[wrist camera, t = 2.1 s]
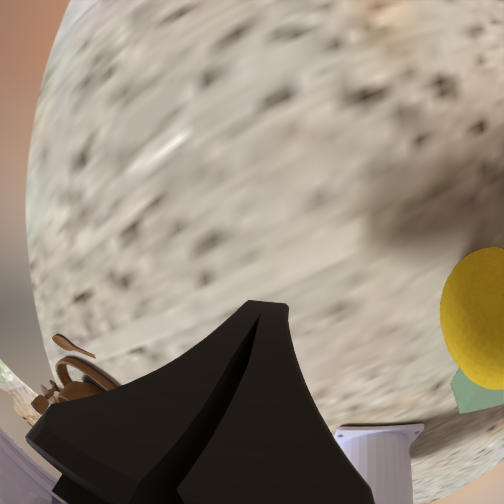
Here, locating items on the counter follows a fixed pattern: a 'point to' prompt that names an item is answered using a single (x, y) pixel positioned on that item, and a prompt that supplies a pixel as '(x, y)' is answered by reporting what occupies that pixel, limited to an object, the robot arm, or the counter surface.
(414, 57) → the counter surface
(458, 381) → the pale green rectangular bar
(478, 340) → the lemon
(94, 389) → the place setting
